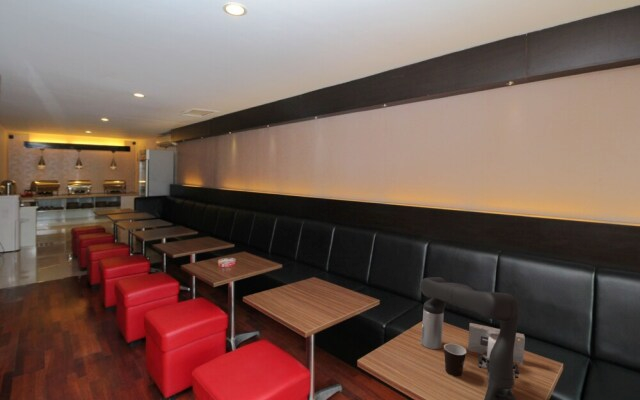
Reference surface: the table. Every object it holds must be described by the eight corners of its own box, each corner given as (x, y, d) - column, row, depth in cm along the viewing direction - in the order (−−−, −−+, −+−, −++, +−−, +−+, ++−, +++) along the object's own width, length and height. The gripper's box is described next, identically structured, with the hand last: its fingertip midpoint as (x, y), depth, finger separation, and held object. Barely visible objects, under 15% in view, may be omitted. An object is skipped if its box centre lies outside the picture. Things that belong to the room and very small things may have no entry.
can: (505, 368, 133) (507, 341, 132) (489, 366, 134) (491, 339, 133) (500, 359, 139) (502, 334, 138) (484, 357, 141) (486, 332, 140)
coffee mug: (455, 380, 124) (456, 356, 123) (438, 368, 131) (439, 346, 131) (474, 373, 129) (475, 350, 128) (456, 361, 137) (458, 340, 136)
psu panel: (467, 351, 146) (469, 326, 145) (468, 346, 150) (469, 322, 149) (523, 365, 136) (525, 338, 135) (521, 359, 140) (523, 334, 139)
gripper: (522, 375, 111) (517, 353, 126) (478, 363, 118) (478, 343, 132) (520, 394, 112) (516, 370, 126) (477, 381, 118) (477, 360, 133)
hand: (496, 356), depth 129 cm, fingers open, 8 cm apart
